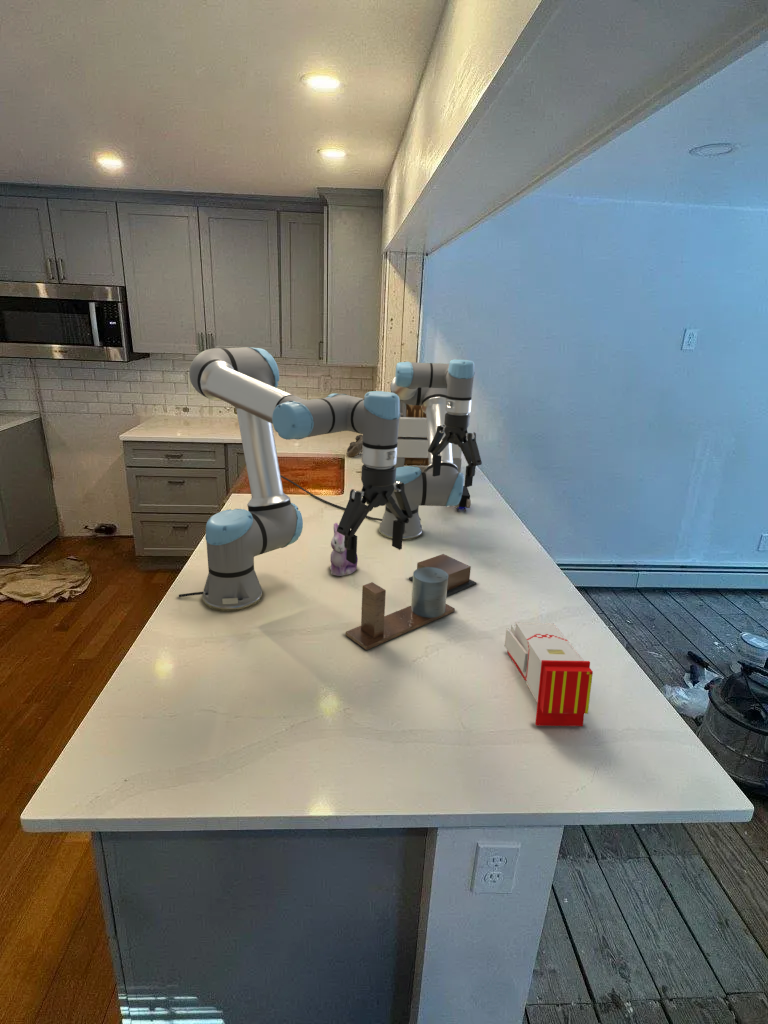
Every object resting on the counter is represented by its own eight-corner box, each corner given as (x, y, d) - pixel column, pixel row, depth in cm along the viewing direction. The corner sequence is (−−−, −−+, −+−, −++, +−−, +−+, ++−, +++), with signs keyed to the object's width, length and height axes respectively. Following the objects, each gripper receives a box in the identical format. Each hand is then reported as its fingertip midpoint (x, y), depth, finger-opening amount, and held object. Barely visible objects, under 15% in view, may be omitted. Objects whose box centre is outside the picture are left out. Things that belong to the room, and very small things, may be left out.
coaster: (408, 579, 167) (408, 577, 166) (441, 567, 175) (441, 565, 175) (443, 598, 157) (443, 596, 157) (476, 584, 165) (476, 582, 165)
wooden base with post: (367, 651, 131) (369, 601, 126) (344, 634, 137) (345, 586, 133) (455, 612, 150) (460, 567, 145) (431, 599, 156) (435, 555, 152)
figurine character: (470, 516, 223) (465, 500, 237) (473, 499, 220) (467, 484, 233) (453, 516, 223) (449, 500, 236) (455, 498, 220) (451, 483, 233)
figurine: (335, 579, 164) (336, 531, 159) (322, 565, 172) (322, 519, 167) (364, 574, 168) (366, 527, 163) (350, 560, 177) (351, 515, 172)
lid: (416, 578, 166) (417, 562, 165) (442, 568, 173) (443, 553, 171) (443, 592, 159) (444, 576, 157) (469, 582, 165) (471, 566, 164)
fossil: (346, 440, 316) (367, 425, 311) (357, 453, 319) (378, 438, 314) (340, 453, 296) (362, 438, 291) (351, 468, 299) (374, 452, 294)
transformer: (382, 463, 289) (386, 382, 275) (445, 464, 293) (451, 384, 279) (390, 482, 257) (394, 392, 243) (460, 483, 261) (468, 394, 247)
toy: (550, 607, 134) (601, 667, 105) (545, 659, 137) (594, 732, 108) (499, 606, 134) (537, 666, 104) (495, 659, 137) (530, 731, 107)
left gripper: (343, 478, 112) (340, 574, 120) (432, 461, 128) (425, 547, 135) (321, 468, 118) (320, 561, 125) (409, 453, 133) (403, 537, 140)
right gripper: (419, 407, 177) (415, 473, 184) (481, 421, 159) (474, 493, 166) (436, 405, 181) (431, 469, 189) (498, 419, 164) (490, 489, 171)
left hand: (374, 554), depth 130 cm, fingers open, 13 cm apart
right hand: (451, 480), depth 177 cm, fingers open, 13 cm apart
